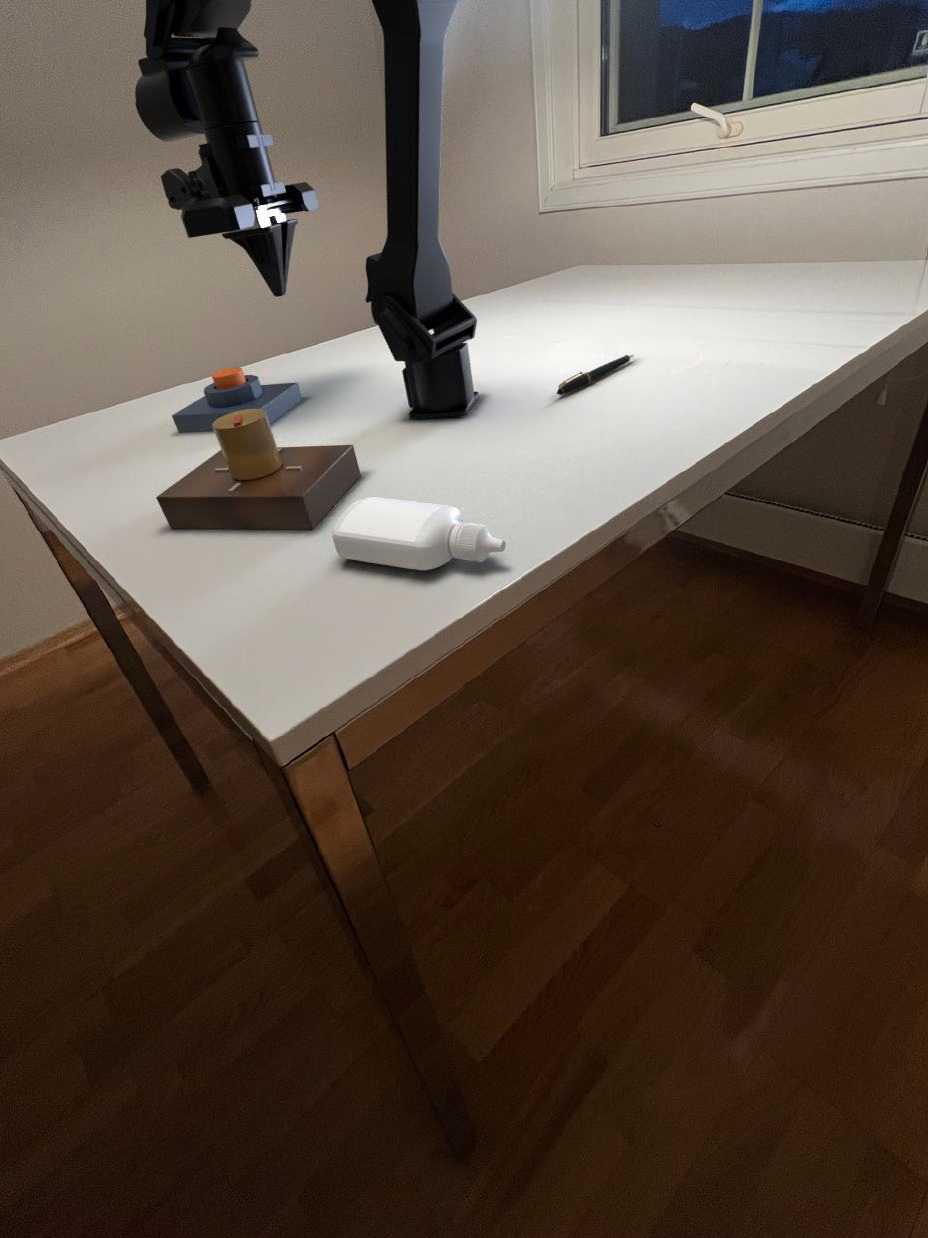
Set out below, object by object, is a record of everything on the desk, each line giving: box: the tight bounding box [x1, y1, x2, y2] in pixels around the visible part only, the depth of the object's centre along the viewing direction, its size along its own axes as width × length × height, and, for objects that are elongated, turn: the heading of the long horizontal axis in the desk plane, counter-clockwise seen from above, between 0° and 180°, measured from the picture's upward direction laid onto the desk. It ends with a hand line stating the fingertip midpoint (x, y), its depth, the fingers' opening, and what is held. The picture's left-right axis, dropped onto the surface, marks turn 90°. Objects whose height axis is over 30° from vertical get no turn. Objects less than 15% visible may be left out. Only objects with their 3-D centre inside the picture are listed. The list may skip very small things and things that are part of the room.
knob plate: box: [155, 444, 362, 530], centre depth 55 cm, size 14×10×3 cm
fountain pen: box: [556, 353, 636, 396], centre depth 70 cm, size 14×1×2 cm, turn 134°
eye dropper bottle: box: [331, 496, 506, 571], centre depth 43 cm, size 4×6×12 cm
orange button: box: [211, 367, 246, 390], centre depth 76 cm, size 4×4×2 cm
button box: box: [171, 374, 303, 434], centre depth 77 cm, size 12×10×4 cm
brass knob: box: [212, 409, 282, 480], centre depth 53 cm, size 4×4×5 cm
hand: (280, 295), depth 73 cm, fingers closed
